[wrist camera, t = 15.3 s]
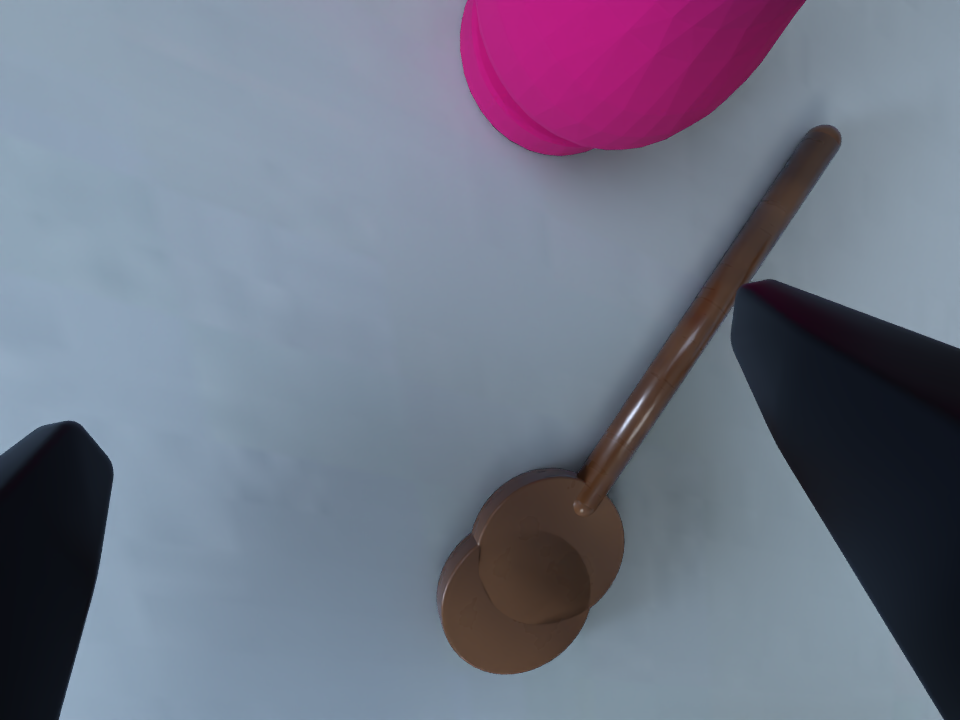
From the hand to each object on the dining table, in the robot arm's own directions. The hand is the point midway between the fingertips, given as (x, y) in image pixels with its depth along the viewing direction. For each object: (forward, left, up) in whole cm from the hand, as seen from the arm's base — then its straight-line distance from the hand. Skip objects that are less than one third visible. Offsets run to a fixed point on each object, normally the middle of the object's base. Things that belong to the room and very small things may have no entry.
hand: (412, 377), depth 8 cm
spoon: (0, -10, -11) cm, 15 cm away
